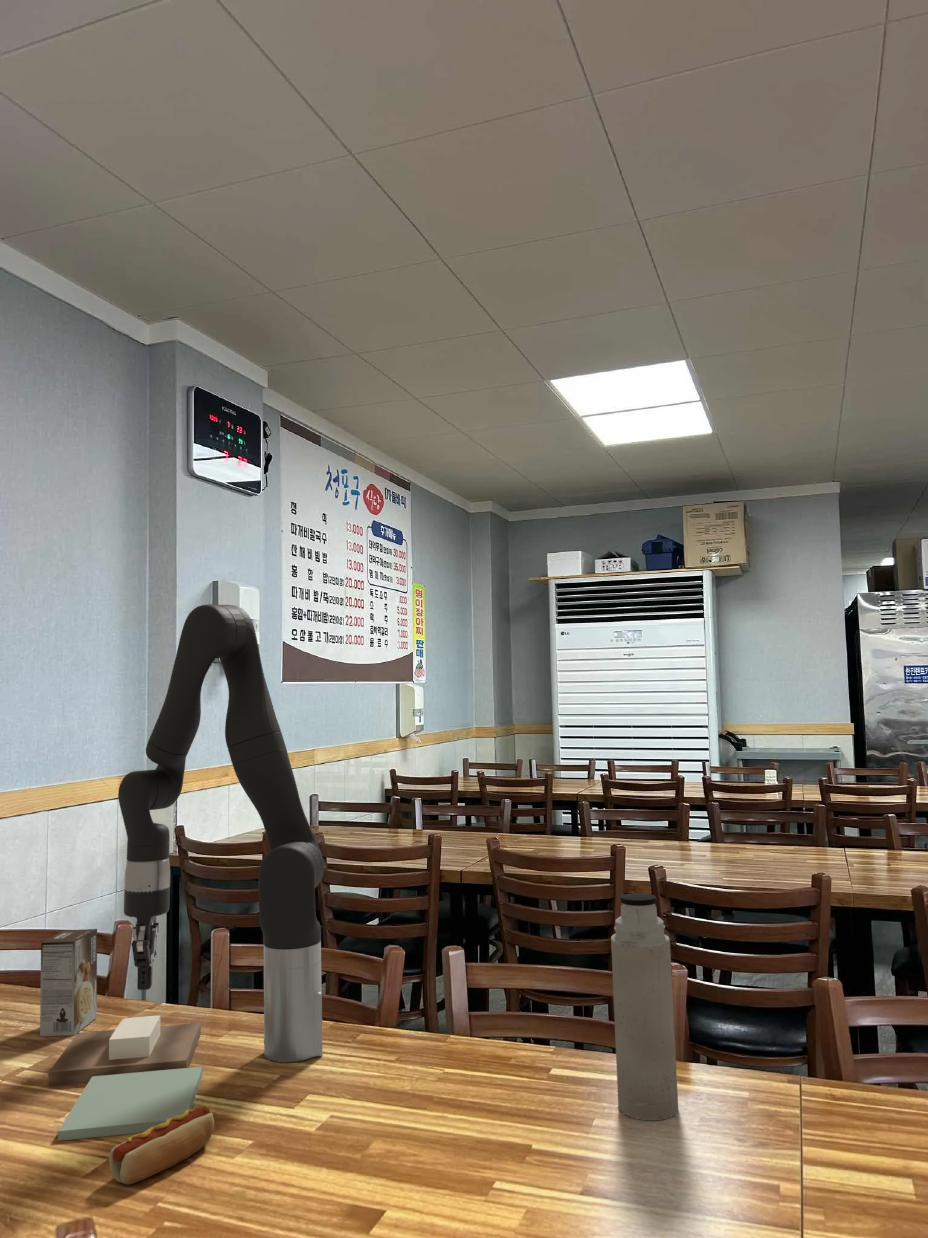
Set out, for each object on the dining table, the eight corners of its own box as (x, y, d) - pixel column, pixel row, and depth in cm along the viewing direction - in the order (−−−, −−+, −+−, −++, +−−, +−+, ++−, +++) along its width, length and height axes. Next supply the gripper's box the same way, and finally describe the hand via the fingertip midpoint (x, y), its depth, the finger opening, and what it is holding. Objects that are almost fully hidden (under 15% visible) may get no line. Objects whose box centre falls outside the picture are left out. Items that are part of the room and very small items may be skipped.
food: (129, 1197, 103) (129, 1151, 103) (99, 1184, 106) (100, 1140, 106) (223, 1146, 114) (223, 1105, 115) (194, 1136, 117) (194, 1096, 118)
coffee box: (63, 1019, 165) (64, 929, 166) (97, 1018, 164) (98, 928, 166) (38, 1037, 155) (40, 941, 157) (74, 1036, 155) (76, 940, 157)
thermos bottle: (626, 1091, 127) (617, 888, 129) (683, 1100, 123) (673, 891, 126) (611, 1115, 119) (601, 899, 122) (671, 1125, 116) (660, 903, 119)
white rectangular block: (160, 1034, 149) (160, 1015, 150) (149, 1056, 140) (149, 1036, 140) (122, 1037, 148) (122, 1018, 149) (108, 1060, 139) (109, 1040, 139)
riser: (200, 1035, 154) (200, 1023, 154) (186, 1074, 137) (186, 1060, 138) (77, 1045, 151) (77, 1033, 151) (47, 1086, 134) (48, 1072, 134)
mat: (202, 1075, 137) (202, 1066, 137) (185, 1128, 119) (185, 1118, 119) (92, 1085, 134) (92, 1076, 134) (57, 1141, 117) (58, 1131, 117)
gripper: (163, 892, 151) (161, 999, 149) (175, 877, 163) (172, 976, 162) (116, 894, 149) (113, 1002, 147) (132, 879, 162) (129, 978, 160)
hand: (144, 988), depth 155 cm, fingers closed
